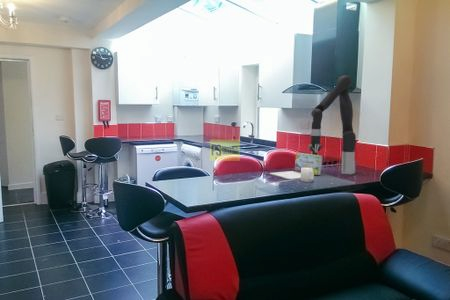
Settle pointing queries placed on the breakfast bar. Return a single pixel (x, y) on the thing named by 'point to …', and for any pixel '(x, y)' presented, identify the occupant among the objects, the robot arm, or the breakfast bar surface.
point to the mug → (307, 174)
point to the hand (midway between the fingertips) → (314, 157)
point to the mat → (288, 175)
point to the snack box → (308, 162)
